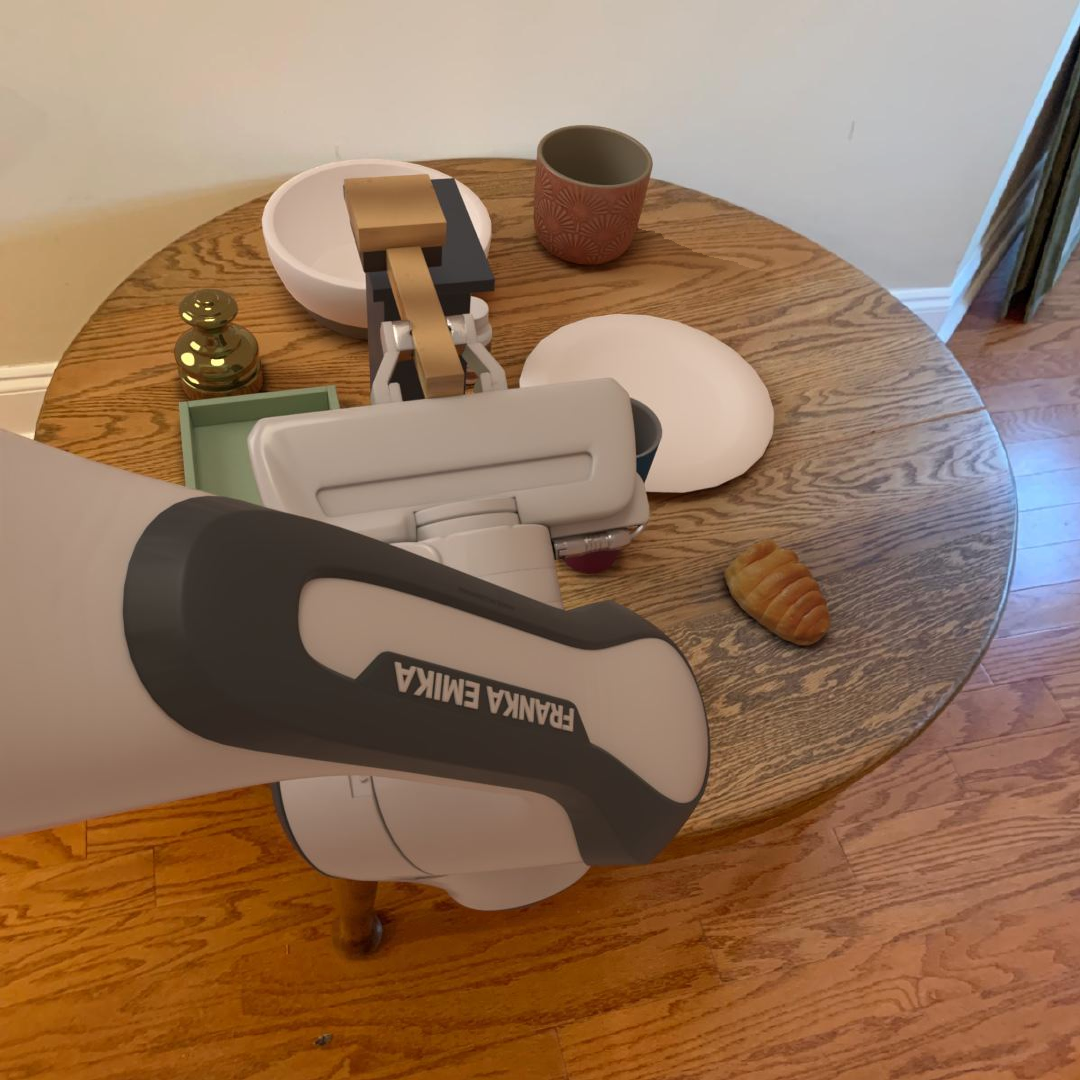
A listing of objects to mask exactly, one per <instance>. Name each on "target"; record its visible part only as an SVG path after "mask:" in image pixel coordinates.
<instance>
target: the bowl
mask: <svg viewBox="0 0 1080 1080" xmlns="http://www.w3.org/2000/svg"><path fill="white" fill-rule="evenodd" d="M419 174H428V175H429V177H430V179H446V178H454V177H453V176H451V175H449V174H446V173H444V172H441V171H439V170H438V169H435V168H431V167H428V166H425V165H421V164H418V163H413V162H409V161H403V160H397V159H386V158H355V159H346V160H339V161H333V162H329V163H325V164H322V165H321V164H320V165H318V166H314V167H312V168H310V169H307V170H305V171H303V172H300V173H298V174H296V175H295V176H293V177H291V178H289V179H288V180H286V181H285V182H284V183H283V184H281V185H280V186H279V187H278V188H277V189H276V190H275V191H274V192H273V193H272V194H271V196H270V197H269V199H268V201H267V202H266V203H265V206H264V208H263V213H262V217H261V227H262V228H261V229H262V235H263V239H264V242H265V246H266V251H267V255H268V258H269V260H270V262H271V264H272V266H273V268H274V271H275V272H276V273H277V275H278V277H279V279H280V280H281V282H282V283H283V286H284V287H285V288H286V290H287V291H288V292H289V294H290V295H291V296H292V297H293V298H294V299H295V301H296V302H297V303H299V304H300V306H302V308H303V309H304V310H305V311H306V312H307V313H308V315H309V316H310V317H311V318H312V319H314V320H315V321H316V322H317V323H319V324H320V325H321V326H323V327H325V328H327V329H329V330H331V331H333V332H335V333H337V334H341V335H343V336H346V337H349V338H352V339H353V338H354V339H359V340H363V341H364V340H365V341H368V323H367V300H366V277H365V273H364V271H363V268H362V264H361V261H360V257H359V253H358V250H357V246H356V243H355V239H354V236H353V232H352V229H351V225H350V218H349V214H348V210H347V207H346V203H345V200H344V193H343V185H344V179H350V178H367V177H384V176H401V175H419ZM454 179H455V181H456V184H457V186H458V189H459V191H460V194H461V196H462V199H463V201H464V204H465V206H466V209H467V211H468V214H469V216H470V218H471V221H472V223H473V226H474V228H475V231H476V233H477V236H478V238H479V241H480V243H481V246H482V248H483V250H484V253H485V255H486V258H487V259H488V258H489V253H490V247H491V242H492V238H493V227H492V225H493V223H492V219H491V217H490V214H489V212H488V208H487V207H486V206H485V204H484V202H483V201H482V200H481V199H480V197H479V196H478V195H477V194H476V193H475V192H474V191H473V190H472V189H470V188H469V187H468V186H467V185H465V184H464V183H462V182H461V181H459V180H457V179H456V178H454Z"/></svg>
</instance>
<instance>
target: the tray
mask: <svg viewBox="0 0 1080 1080" xmlns="http://www.w3.org/2000/svg"><path fill="white" fill-rule="evenodd" d="M336 409H341V405H340V401H339V395H338V391H337V387H336V384H328V385H320V386H312V387H303V388H294V389H293V388H292V389H284V390H277V391H276V390H275V391H267V392H258V393H257V394H248V395H239V396H230V397H221V398H212V399H203V400H195V401H193V400H188V401H186V400H185V401H179V402H178V413H179V414H178V415H179V426H180V437H181V448H182V449H181V450H182V462H183V471H184V481H185V485H184V486H186V487H190V488H194V489H197V490H201V491H204V492H208V493H211V494H214V495H217V496H223V497H229V498H234V499H238V500H243V501H246V502H250V503H253V504H256V505H260V506H262V503H261V500H260V497H259V494H258V490H257V486H256V482H255V478H254V474H253V471H252V466H251V461H250V456H249V451H248V445H247V437H248V435H249V434H250V432H251V430H252V429H253V427H254V426H255V424H256V423H257V422H258V421H259V420H260V419H263V418H267V417H276V416H285V415H294V414H302V413H310V412H319V411H327V410H336Z"/></svg>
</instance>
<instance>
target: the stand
mask: <svg viewBox="0 0 1080 1080" xmlns="http://www.w3.org/2000/svg"><path fill="white" fill-rule="evenodd" d="M455 179H456V178H454V177H453V178H446V179H430V180H431V183H432V185H433V188H434V190H435V193H436V196H437V198H438V201H439V204H440V206H441V209H442V211H443V214H444V217H445V219H446V222H447V227H446V246H442V266H440V267H428V270H429V273H430V276H431V278H432V281H433V284H434V287H435V290H436V293H437V296H438V299H439V302H440V304H441V307H442V310H443V313H444V316H454V315H463V314H470V304H471V296H472V294H478V293H479V294H480V293H489V292H490V293H491V292H495V286H496V278H495V276H494V273H493V271H492V268H491V265H490V263H489V261H488V258H486V255H485V253H484V250H483V248H482V246H481V243H480V241H479V238H478V236H477V233H476V231H475V228H474V226H473V223H472V221H471V218H470V216H469V214H468V211H467V209H466V206H465V204H464V201H463V199H462V196H461V194H460V191H459V189H458V186H457V184H456V181H455ZM343 193H344V200H345V187H344V185H343ZM349 218H350V217H349ZM365 277H366V300H367V323H368V340H367V343H368V361H369V362H368V366H369V389H370V392H371V390H372V385H373V382H374V380H375V377H376V375H377V372H378V370H379V367H380V365H381V362H382V360H383V357H384V354H383V348H382V342H381V334H380V328H381V323H382V322H388V321H399V320H401V317H400V314H399V310H398V307H397V304H396V301H395V297H394V294H393V291H392V287H391V284H390V281H389V278H388V274H387V271H380V272H368V273H365ZM458 357H459V359H460V362H461V365H462V368H463V371H464V389H463V395H464V394H466V388H467V387H466V385H467V384H466V372H467V362H466V361H465V359H464V358H463V357H462V355H458ZM390 383H398V384H399V385H400V390H401V395H402V401H403V402H404V401H412V400H421V399H425V396H424V393H423V389H422V386H421V383H420V379H419V376H418V373H417V370H416V366H415V363H414V360H413V357H412V360H408V361H401V362H397V365H396V367H395V370H394V372H393V375H392V377H391V380H390V382H389V384H390ZM388 386H389V385H388Z"/></svg>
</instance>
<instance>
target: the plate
mask: <svg viewBox="0 0 1080 1080" xmlns="http://www.w3.org/2000/svg"><path fill="white" fill-rule="evenodd" d="M600 378H613V379H614V380H615V381H617V382H618V383H619V384H620V385H621V386H622V387H623V388H624V389H625V390H626V391H627V392H628V394H629V397H630V398H633V399H635V400H638V401H640V402H641V403H643V404H645V405H646V406H648V407H649V408H650V409H651V410H652V411H653V412H654V413H655V414H656V416H657V417H658V419H659V421H660V423H661V427H662V438H661V441H660V443H659V446H658V449H657V452H656V454H655V457H654V460H653V462H652V465H651V468H650V470H649V473H648V476H647V478H646V481H645V484H644V485H645V489H646V494H670V495H671V494H672V495H673V494H674V495H675V494H676V495H677V494H678V495H679V494H680V495H684V494H689V493H694V492H701V491H705V490H709V489H715V488H718V487H720V486H722V485H725V484H726V483H729V482H731V481H732V480H735V479H737V478H739V477H741V476H744V474H746V472H747V471H748V470H750V468H752V467H753V466H754V465H755V464H756V463H758V461H759V460H761V458H763V455H764V454H765V452H766V449H767V448H768V445H769V443H770V442H771V439H772V437H773V436H774V435H773V434H774V421H775V410H774V407H773V403H772V400H771V396H770V393H769V390H768V388H767V386H766V385H765V383H764V382H763V380H762V378H760V376H759V374H758V373H757V371H756V370H755V368H754V367H753V366H752V365H751V364H750V363H748V361H747V360H745V359H744V357H742V356H741V355H740V354H739V353H738V352H737V351H736V350H735V349H733V347H730V346H729V345H727V344H725V342H722V341H721V340H719V339H718V338H716V337H714V336H713V335H711V334H710V333H707V332H705V331H703V330H700V329H698V328H695V327H693V326H690V325H687V324H685V323H682V322H680V321H676V320H672V319H667V318H663V317H658V316H653V315H648V314H630V313H629V314H628V313H613V314H612V313H611V314H606V315H598V316H591V317H586V318H583V319H580V320H576V321H574V322H571V323H569V324H566V325H563V326H561V327H559V328H558V329H556V330H555V331H553V332H552V333H549V335H547V336H545V337H544V338H542V339H541V340H540V341H539V342H538V344H537V345H536V346H535V347H534V348H533V350H532V351H531V352H530V353H529V354H528V356H527V357H526V358H525V361H524V365H523V368H522V371H521V374H520V377H519V379H518V383H519V388H523V387H532V386H540V385H549V384H557V383H566V382H574V381H583V380H591V379H600Z"/></svg>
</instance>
